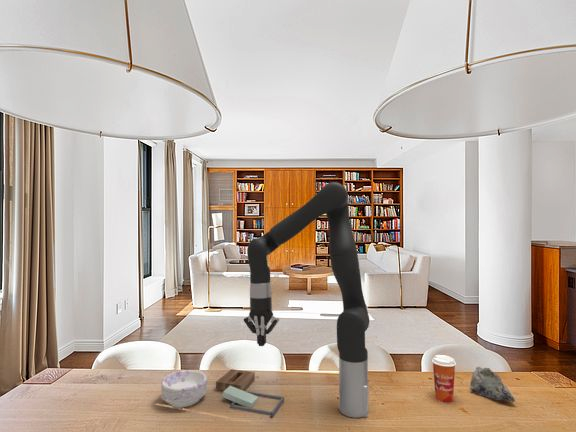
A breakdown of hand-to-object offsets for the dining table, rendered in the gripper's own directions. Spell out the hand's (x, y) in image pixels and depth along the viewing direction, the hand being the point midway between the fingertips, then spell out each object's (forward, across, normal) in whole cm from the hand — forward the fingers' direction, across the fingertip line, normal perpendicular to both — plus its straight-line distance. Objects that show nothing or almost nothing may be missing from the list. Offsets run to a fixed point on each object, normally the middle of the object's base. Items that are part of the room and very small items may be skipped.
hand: (261, 345), depth 126 cm
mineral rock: (+21, +76, +26) cm, 83 cm away
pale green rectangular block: (+18, -1, -5) cm, 18 cm away
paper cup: (+21, +60, +20) cm, 66 cm away
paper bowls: (+18, -26, -9) cm, 33 cm away
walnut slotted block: (+18, -13, +6) cm, 23 cm away
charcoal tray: (+19, 0, -4) cm, 19 cm away
